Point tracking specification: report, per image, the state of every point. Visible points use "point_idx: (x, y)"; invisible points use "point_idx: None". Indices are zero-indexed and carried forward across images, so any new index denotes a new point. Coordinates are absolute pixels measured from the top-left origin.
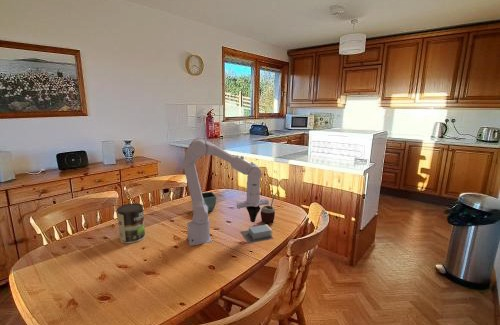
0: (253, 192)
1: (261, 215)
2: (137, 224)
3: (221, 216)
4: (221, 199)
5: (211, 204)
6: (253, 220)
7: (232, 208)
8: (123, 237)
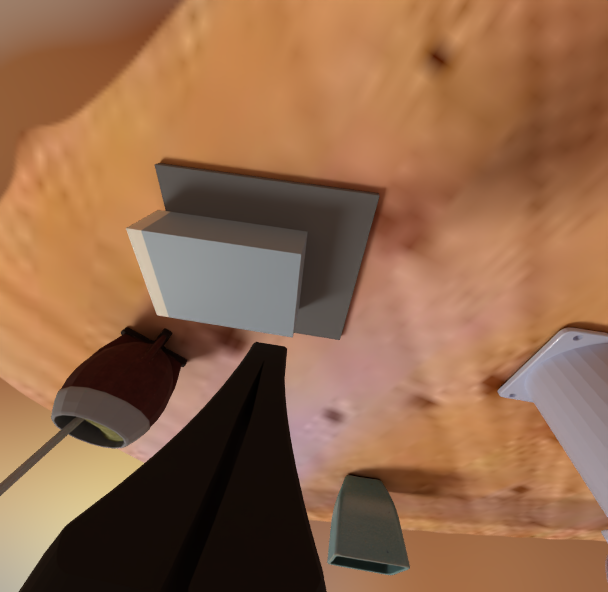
0: None
1: (166, 393)
2: None
3: (338, 446)
4: None
5: (356, 511)
6: (267, 360)
7: None
8: None
